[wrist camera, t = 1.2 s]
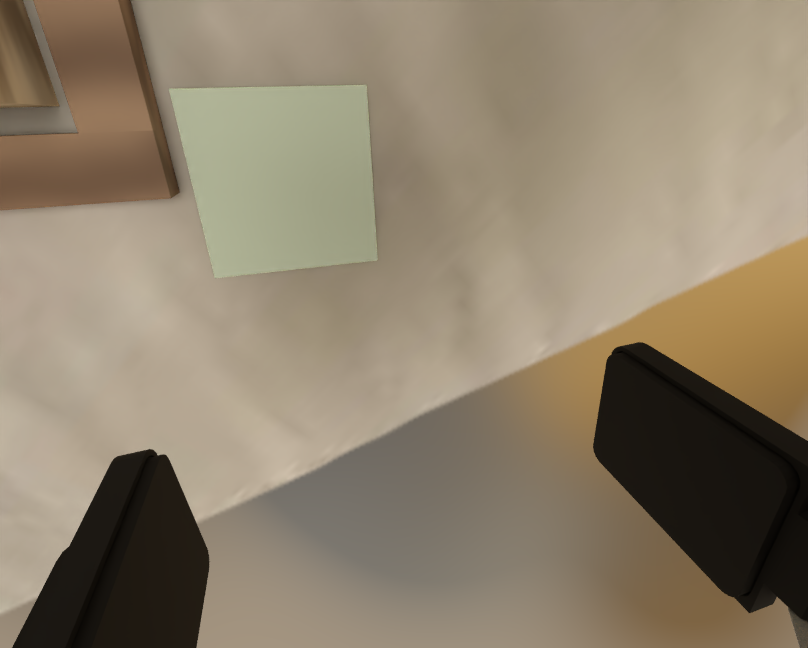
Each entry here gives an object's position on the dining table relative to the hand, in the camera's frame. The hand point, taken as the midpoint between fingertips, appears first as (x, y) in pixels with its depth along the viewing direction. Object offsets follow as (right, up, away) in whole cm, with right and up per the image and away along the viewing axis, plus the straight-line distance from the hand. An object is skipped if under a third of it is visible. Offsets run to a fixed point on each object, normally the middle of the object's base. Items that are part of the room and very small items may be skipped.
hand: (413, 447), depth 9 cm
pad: (-8, +12, +21) cm, 26 cm away
